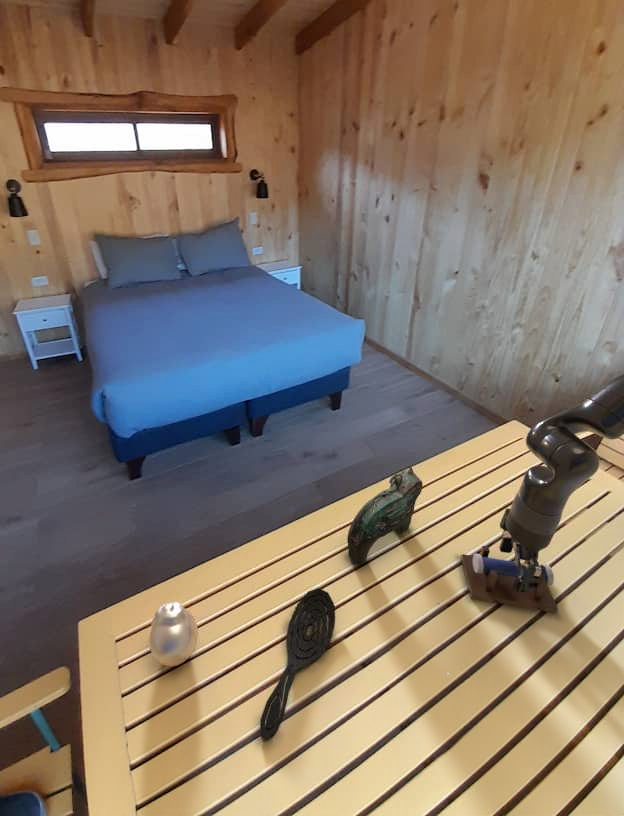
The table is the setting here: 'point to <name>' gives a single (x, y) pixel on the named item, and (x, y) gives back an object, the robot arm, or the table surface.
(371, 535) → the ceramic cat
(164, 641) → the silver rounded egg shape
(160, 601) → the table surface
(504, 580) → the holder
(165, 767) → the table surface
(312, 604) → the hairbrush
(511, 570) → the handle
